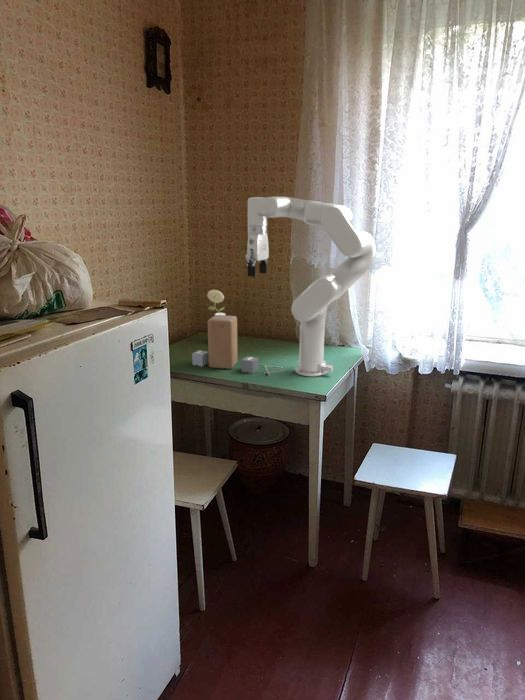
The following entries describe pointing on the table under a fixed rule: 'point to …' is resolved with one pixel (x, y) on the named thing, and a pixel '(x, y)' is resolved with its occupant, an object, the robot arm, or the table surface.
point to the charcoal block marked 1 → (250, 364)
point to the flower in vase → (216, 300)
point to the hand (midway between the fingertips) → (257, 274)
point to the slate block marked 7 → (200, 358)
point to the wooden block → (222, 341)
